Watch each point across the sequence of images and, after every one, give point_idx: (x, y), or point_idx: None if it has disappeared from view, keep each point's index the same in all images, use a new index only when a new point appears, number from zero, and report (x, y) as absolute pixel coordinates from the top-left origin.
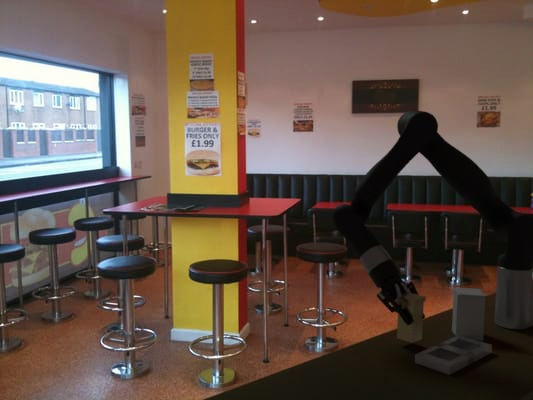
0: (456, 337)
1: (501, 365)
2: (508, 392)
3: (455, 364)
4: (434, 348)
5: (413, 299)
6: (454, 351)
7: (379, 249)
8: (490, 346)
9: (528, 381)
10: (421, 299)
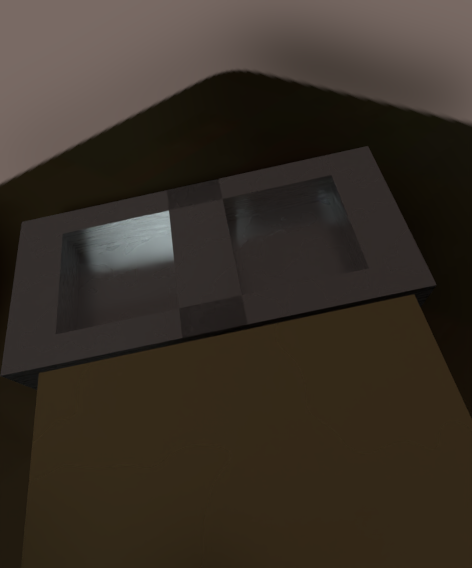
0: (44, 356)
1: (102, 192)
2: (260, 84)
3: (321, 159)
4: (278, 298)
5: (384, 348)
6: (221, 234)
7: None
8: (37, 221)
9: (151, 106)
10: (183, 353)
